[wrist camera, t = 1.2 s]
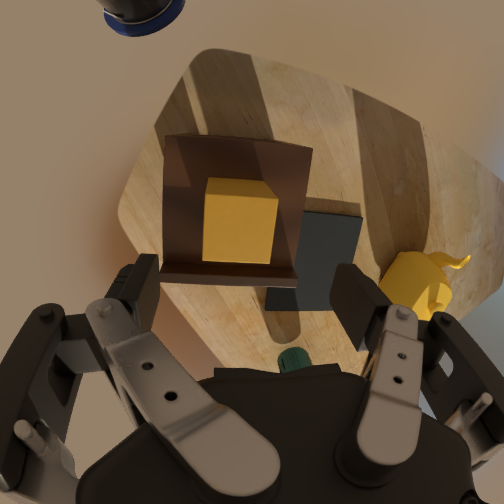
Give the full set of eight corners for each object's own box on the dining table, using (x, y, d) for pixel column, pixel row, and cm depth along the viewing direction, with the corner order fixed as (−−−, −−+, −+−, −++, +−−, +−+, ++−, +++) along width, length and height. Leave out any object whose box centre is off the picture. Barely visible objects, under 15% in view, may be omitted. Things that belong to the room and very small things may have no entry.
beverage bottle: (275, 343, 53) (298, 430, 35) (308, 338, 53) (341, 421, 35) (274, 365, 55) (294, 447, 37) (305, 360, 56) (333, 439, 38)
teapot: (446, 242, 48) (485, 270, 37) (395, 319, 55) (423, 357, 43) (409, 214, 44) (454, 241, 33) (353, 304, 51) (382, 347, 40)
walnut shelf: (188, 133, 35) (160, 136, 18) (274, 139, 37) (321, 150, 20) (183, 215, 40) (159, 282, 23) (264, 220, 42) (297, 288, 25)
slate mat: (279, 208, 42) (280, 209, 41) (361, 217, 44) (363, 218, 43) (264, 309, 49) (264, 311, 48) (337, 308, 51) (338, 310, 50)
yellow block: (208, 177, 22) (205, 193, 17) (264, 180, 23) (278, 198, 17) (205, 229, 24) (202, 261, 18) (257, 232, 24) (269, 264, 19)
